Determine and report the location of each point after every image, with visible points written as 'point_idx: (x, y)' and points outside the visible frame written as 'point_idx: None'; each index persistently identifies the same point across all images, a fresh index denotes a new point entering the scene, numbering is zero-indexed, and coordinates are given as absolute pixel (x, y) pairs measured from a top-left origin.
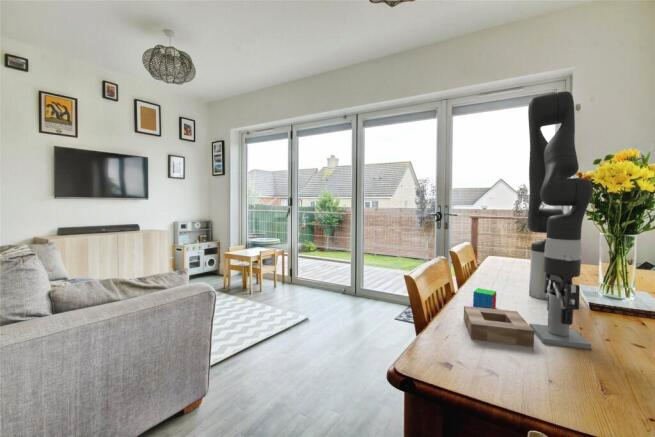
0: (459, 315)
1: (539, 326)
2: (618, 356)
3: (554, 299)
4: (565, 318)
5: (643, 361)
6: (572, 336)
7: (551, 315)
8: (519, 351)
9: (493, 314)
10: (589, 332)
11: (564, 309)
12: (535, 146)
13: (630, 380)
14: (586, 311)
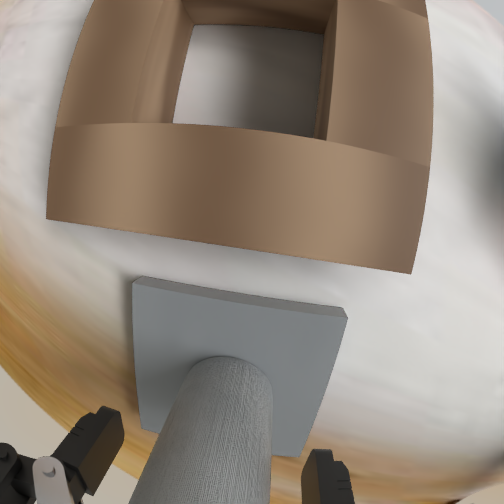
0: (436, 13)
1: (306, 350)
2: (126, 443)
3: None
4: (76, 427)
5: (122, 465)
6: None
7: (186, 423)
8: None
9: (332, 61)
10: None
11: (65, 465)
12: None
13: (14, 364)
14: (447, 496)
